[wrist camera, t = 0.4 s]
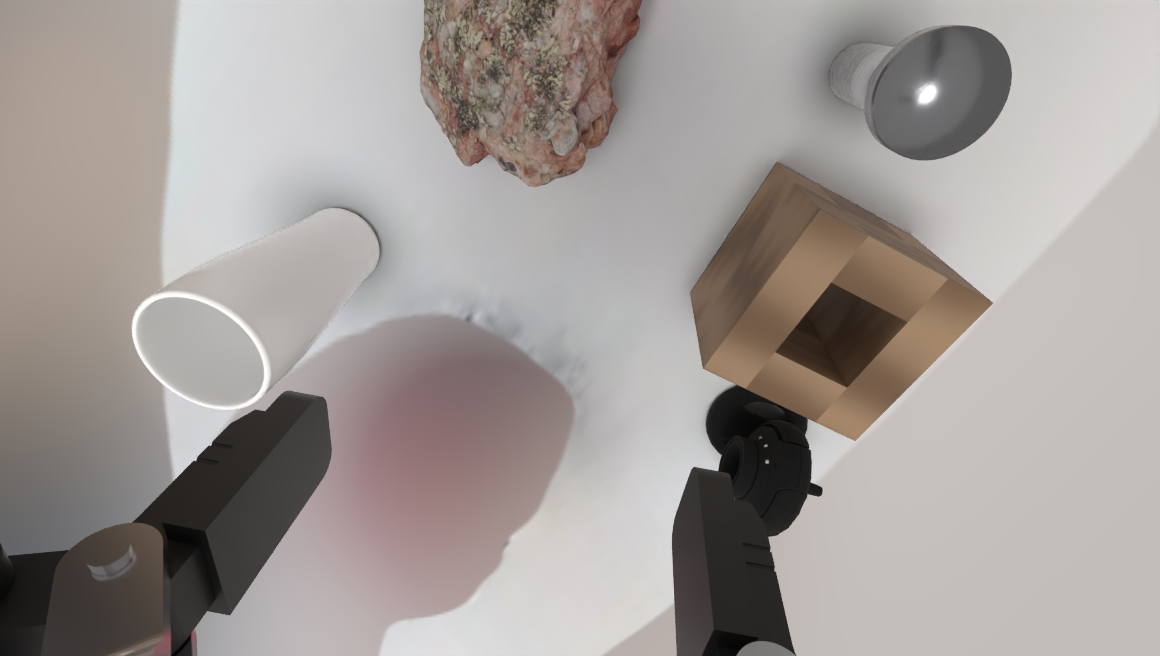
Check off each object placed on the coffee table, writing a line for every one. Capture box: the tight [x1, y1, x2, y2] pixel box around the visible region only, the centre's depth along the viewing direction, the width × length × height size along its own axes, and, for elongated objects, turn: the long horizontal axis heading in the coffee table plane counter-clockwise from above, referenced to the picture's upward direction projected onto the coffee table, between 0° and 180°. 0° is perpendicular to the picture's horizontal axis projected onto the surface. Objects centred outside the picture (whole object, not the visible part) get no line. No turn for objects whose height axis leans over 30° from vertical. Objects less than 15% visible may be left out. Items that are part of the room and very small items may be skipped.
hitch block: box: [690, 162, 993, 441], centre depth 33 cm, size 10×10×10 cm
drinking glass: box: [132, 208, 380, 410], centre depth 33 cm, size 7×7×15 cm
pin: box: [829, 25, 1012, 160], centre depth 27 cm, size 5×5×10 cm
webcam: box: [706, 386, 822, 537], centre depth 39 cm, size 8×8×10 cm
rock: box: [420, 0, 642, 187], centre depth 28 cm, size 16×11×15 cm
